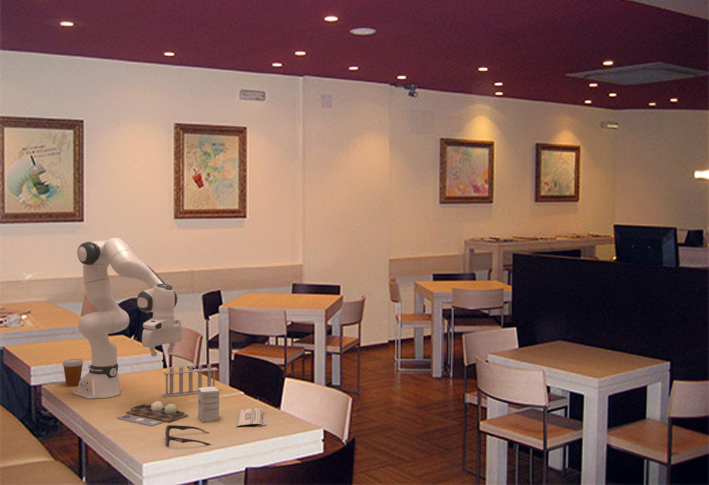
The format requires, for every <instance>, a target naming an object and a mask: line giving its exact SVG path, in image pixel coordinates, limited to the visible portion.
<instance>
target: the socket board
mask: <svg viewBox="0 0 709 485" xmlns="http://www.w3.org/2000/svg"><path fill="white" fill-rule="evenodd" d="M151 405H152V404H147V403H141V404H138V405H135V406H132V407H130V410H128V411H127V410H126V414H125V415H128V414H129V415H134V416H138V417H143V418H147V419H152V420H157V421H161V422H163V423H167V424H168V423H169V424H170V423H173V422H176V421H178V420H182V419H185V418H188V417H189V414H187V413H185V411H181V410H178V409H177V412H176V414H175V415H172V416H170V415H166V414H165V411H164V410H165V407H163V410H162V411H161V412H158V413H155V412H152V410H151Z"/></svg>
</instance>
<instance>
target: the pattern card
mask: <svg viewBox="0 0 709 485" xmlns="http://www.w3.org/2000/svg"><path fill="white" fill-rule="evenodd" d="M117 419H118V420H122V421H127V422H131V423H134V424H135V423H136V424H139V425H145V426H148V427H154V426H157V425H160V424H164V422H162V421H158V420H153V419H149V418H144V417H139V416H135V415H130V414H124V415H122V416H119V417H116V420H117Z"/></svg>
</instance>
